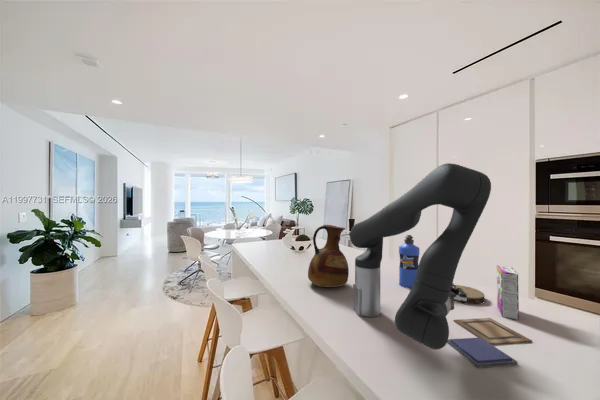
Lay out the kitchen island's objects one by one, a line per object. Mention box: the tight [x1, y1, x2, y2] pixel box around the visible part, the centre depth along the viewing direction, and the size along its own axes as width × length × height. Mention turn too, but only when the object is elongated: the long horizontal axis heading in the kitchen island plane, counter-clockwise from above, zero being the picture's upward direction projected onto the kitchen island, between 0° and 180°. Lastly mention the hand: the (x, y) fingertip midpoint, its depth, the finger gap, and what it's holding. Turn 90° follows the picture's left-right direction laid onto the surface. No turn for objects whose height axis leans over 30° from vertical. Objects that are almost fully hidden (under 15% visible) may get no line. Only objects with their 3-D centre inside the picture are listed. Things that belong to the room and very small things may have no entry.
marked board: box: [453, 317, 533, 346], centre depth 78 cm, size 14×14×1 cm
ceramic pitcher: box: [307, 223, 350, 288], centre depth 121 cm, size 20×20×30 cm
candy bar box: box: [496, 265, 520, 321], centre depth 91 cm, size 11×5×16 cm, turn 148°
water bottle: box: [398, 234, 420, 290], centre depth 120 cm, size 9×9×25 cm
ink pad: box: [446, 337, 518, 368], centre depth 66 cm, size 11×11×1 cm
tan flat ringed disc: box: [454, 284, 485, 305], centre depth 106 cm, size 16×16×3 cm
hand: (444, 284), depth 80 cm, fingers closed on cork, 3 cm apart
